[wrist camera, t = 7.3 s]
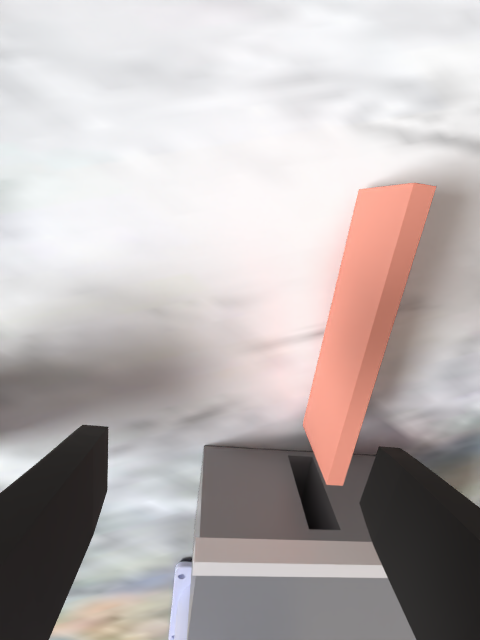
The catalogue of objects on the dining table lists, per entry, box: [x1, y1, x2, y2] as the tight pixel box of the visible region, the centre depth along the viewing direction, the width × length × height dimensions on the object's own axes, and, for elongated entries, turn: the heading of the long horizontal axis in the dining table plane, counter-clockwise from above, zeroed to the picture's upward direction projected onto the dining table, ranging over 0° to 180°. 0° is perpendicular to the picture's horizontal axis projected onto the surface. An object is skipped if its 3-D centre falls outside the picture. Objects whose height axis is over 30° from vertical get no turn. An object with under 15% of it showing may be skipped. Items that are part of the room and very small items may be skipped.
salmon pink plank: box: [303, 183, 436, 486], centre depth 15 cm, size 13×1×4 cm, turn 172°
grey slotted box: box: [187, 446, 416, 640], centre depth 18 cm, size 8×12×7 cm, turn 82°
